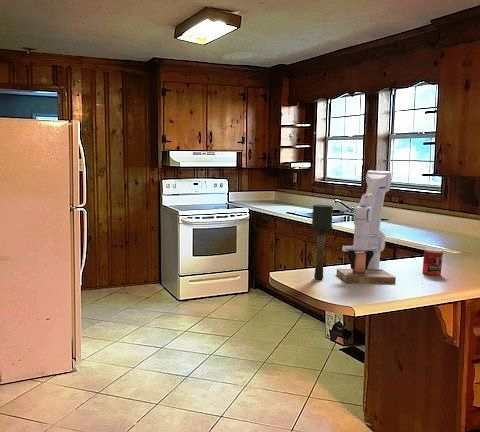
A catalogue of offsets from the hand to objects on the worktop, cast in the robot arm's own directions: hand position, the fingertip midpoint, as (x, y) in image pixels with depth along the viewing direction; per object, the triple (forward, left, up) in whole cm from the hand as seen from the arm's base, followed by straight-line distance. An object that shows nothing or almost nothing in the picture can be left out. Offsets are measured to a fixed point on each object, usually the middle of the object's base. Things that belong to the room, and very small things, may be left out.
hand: (358, 268), depth 215 cm
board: (0, +3, -4) cm, 5 cm away
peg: (0, 0, -3) cm, 3 cm away
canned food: (-10, +37, -4) cm, 39 cm away
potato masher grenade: (+1, -17, -4) cm, 18 cm away
